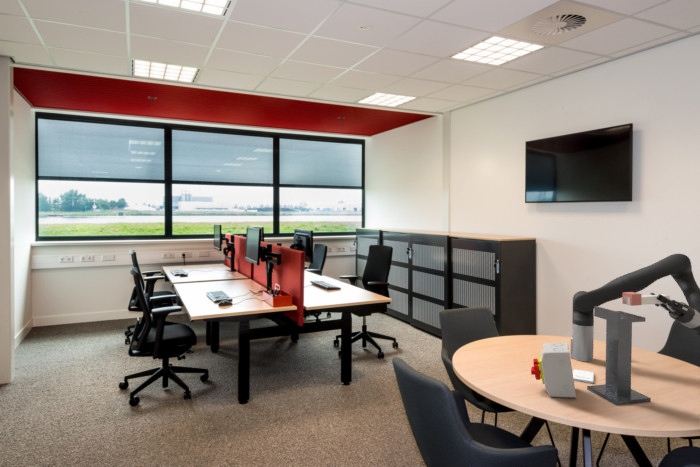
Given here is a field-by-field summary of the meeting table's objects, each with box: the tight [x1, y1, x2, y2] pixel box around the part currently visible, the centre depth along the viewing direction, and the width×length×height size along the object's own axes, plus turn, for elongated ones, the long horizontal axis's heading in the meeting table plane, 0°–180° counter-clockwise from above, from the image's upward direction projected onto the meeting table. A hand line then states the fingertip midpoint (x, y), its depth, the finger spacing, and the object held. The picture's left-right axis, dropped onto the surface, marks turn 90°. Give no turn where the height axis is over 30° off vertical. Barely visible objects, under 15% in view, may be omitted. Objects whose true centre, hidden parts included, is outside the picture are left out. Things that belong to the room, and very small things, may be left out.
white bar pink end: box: [621, 292, 671, 307], centre depth 170 cm, size 18×4×4 cm, turn 100°
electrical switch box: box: [530, 341, 577, 398], centre depth 175 cm, size 15×15×20 cm
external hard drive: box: [572, 369, 595, 385], centre depth 189 cm, size 2×8×12 cm
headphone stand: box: [586, 306, 652, 406], centre depth 169 cm, size 15×15×34 cm
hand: (654, 295), depth 171 cm, fingers closed on white bar pink end, 3 cm apart
